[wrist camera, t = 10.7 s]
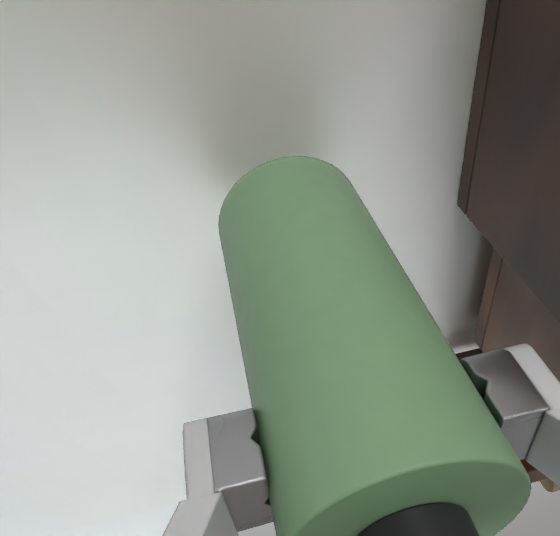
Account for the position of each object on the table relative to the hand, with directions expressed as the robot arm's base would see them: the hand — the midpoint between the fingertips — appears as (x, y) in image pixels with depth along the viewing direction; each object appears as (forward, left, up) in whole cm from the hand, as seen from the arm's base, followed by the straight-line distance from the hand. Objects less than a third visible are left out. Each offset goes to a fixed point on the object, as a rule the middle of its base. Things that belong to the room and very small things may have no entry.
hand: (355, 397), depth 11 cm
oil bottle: (0, 0, -7) cm, 7 cm away
